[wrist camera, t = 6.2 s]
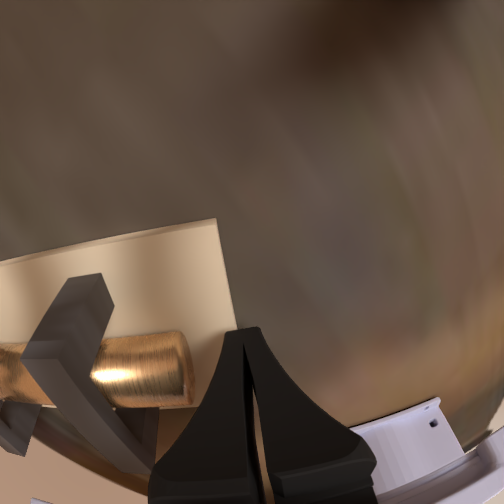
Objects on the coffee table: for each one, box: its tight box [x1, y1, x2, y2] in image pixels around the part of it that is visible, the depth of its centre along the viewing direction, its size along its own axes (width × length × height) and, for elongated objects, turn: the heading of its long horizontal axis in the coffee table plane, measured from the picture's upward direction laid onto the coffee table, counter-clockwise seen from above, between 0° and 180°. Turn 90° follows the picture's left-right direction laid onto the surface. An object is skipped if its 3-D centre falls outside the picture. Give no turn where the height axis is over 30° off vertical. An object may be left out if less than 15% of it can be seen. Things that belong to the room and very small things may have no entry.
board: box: [0, 218, 238, 474], centre depth 11 cm, size 18×10×5 cm, turn 97°
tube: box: [0, 331, 195, 408], centre depth 11 cm, size 14×3×3 cm, turn 97°
